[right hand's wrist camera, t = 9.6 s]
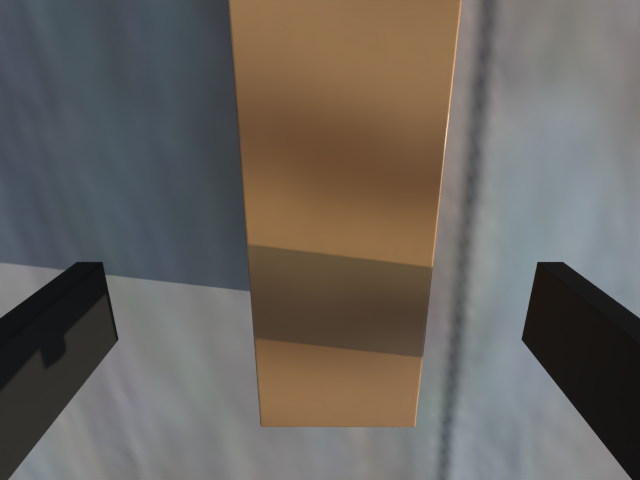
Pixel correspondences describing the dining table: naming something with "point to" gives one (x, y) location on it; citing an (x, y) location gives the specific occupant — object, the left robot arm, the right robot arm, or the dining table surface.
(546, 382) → the dining table surface
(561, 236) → the dining table surface
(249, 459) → the dining table surface
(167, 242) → the dining table surface
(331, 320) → the beam
